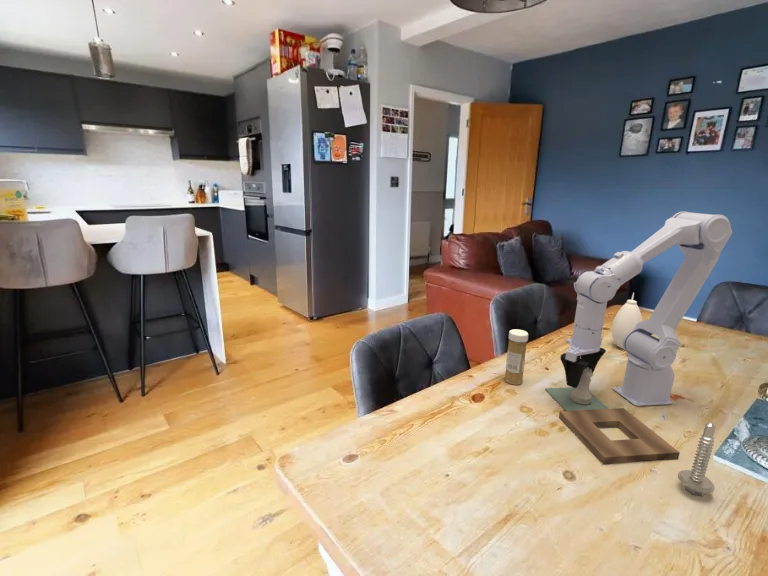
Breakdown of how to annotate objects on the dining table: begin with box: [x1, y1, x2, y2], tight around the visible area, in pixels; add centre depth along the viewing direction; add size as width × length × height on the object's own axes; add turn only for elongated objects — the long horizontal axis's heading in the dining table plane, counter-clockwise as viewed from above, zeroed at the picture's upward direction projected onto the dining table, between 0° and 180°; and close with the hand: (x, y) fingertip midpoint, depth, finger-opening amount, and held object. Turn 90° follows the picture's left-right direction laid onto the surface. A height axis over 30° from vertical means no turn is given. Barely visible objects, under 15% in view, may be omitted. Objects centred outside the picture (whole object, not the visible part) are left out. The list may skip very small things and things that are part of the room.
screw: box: [677, 422, 716, 498], centre depth 65 cm, size 13×5×5 cm
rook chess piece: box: [571, 367, 594, 405], centre depth 92 cm, size 4×4×8 cm
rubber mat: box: [544, 386, 610, 411], centre depth 94 cm, size 10×10×1 cm
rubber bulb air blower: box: [611, 292, 643, 350], centre depth 123 cm, size 8×8×18 cm
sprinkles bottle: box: [503, 328, 529, 386], centre depth 101 cm, size 5×5×13 cm
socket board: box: [558, 407, 680, 465], centre depth 81 cm, size 15×15×2 cm
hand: (579, 380), depth 93 cm, fingers open, 7 cm apart
